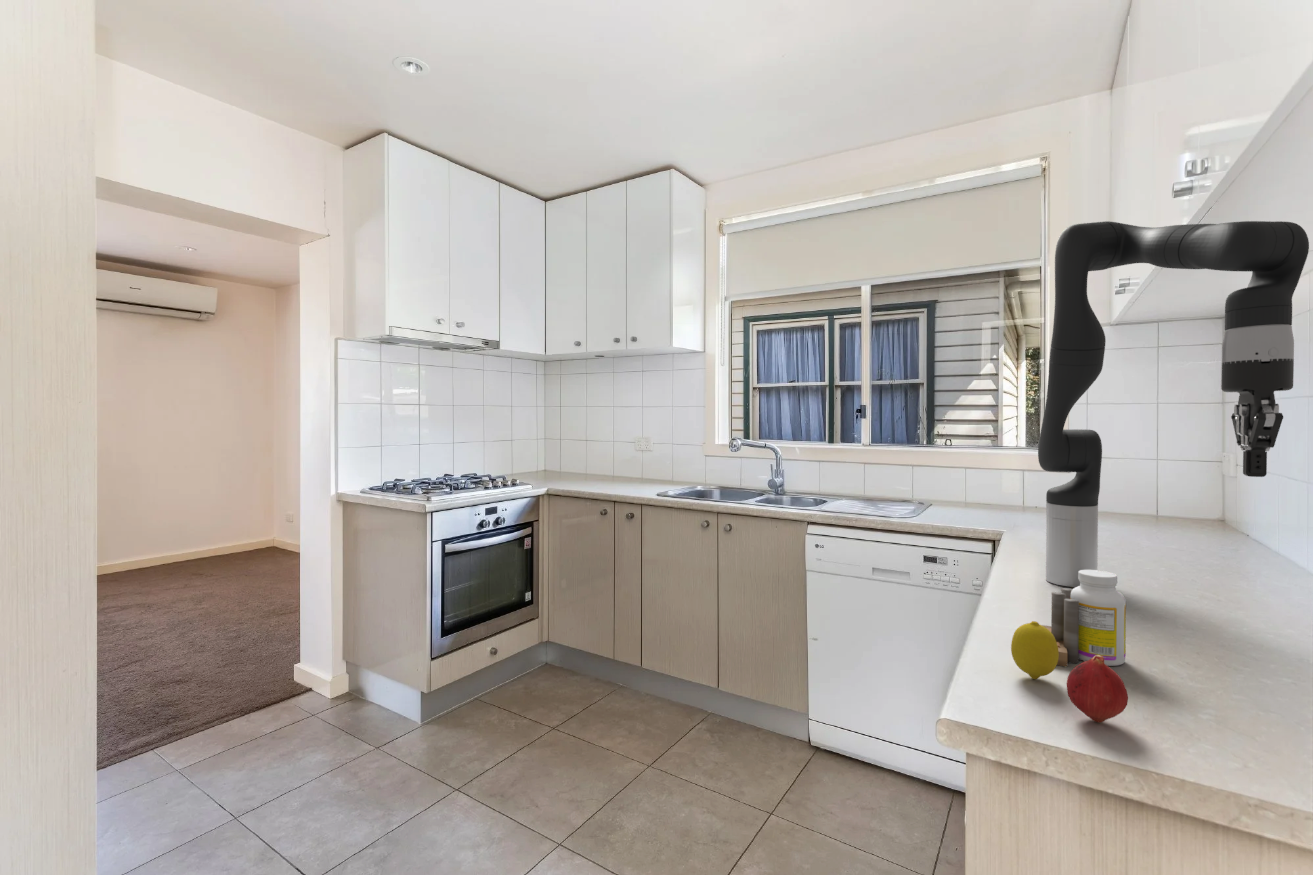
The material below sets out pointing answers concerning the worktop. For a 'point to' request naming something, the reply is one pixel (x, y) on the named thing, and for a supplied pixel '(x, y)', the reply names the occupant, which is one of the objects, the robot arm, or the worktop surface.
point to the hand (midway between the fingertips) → (1254, 476)
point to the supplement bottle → (1100, 617)
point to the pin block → (1065, 626)
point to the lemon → (1034, 649)
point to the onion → (1097, 690)
